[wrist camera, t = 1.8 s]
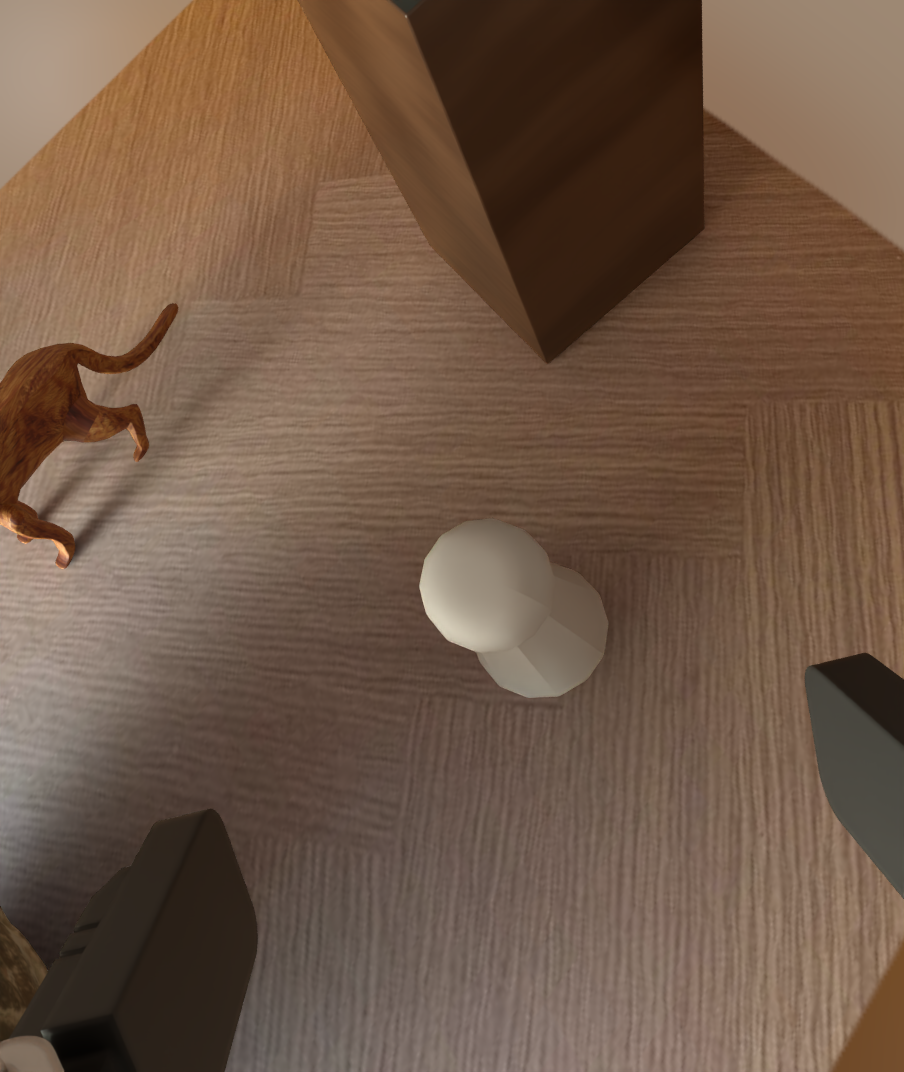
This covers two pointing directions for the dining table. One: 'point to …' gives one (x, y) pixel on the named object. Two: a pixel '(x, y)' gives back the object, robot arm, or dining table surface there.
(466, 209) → the stand
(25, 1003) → the bowl
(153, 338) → the cat figurine
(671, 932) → the dining table surface
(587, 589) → the salt shaker
